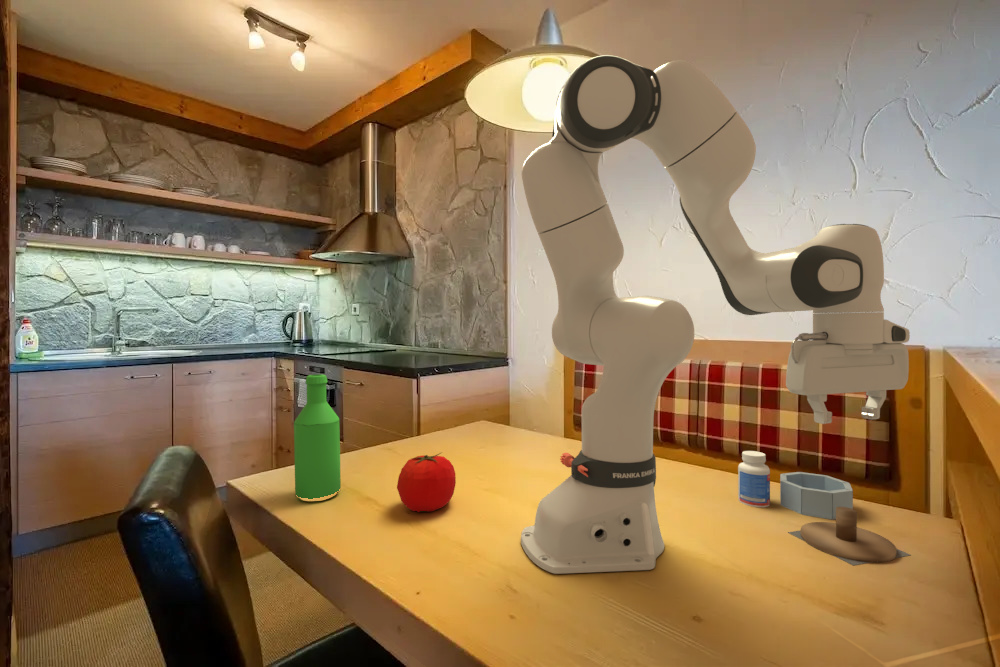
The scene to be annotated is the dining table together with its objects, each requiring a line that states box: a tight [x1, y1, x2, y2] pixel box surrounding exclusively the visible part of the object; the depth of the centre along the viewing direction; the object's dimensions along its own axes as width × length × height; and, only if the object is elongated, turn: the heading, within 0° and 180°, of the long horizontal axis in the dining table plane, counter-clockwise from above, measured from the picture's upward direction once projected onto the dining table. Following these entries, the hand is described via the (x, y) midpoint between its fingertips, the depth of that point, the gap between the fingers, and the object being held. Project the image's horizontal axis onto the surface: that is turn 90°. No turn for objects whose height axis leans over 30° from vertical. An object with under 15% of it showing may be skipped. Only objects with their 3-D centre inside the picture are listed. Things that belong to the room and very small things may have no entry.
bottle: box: [293, 373, 342, 499], centre depth 97 cm, size 9×9×25 cm
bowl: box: [779, 471, 854, 521], centre depth 88 cm, size 11×11×5 cm
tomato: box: [396, 452, 457, 513], centre depth 91 cm, size 11×13×10 cm
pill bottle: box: [737, 450, 771, 508], centre depth 91 cm, size 6×5×10 cm
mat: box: [787, 529, 912, 566], centre depth 73 cm, size 11×11×1 cm
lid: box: [800, 507, 897, 564], centre depth 73 cm, size 12×12×5 cm
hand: (847, 420), depth 73 cm, fingers open, 8 cm apart
